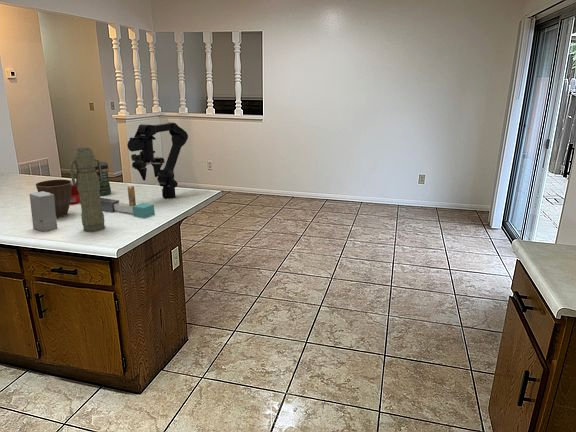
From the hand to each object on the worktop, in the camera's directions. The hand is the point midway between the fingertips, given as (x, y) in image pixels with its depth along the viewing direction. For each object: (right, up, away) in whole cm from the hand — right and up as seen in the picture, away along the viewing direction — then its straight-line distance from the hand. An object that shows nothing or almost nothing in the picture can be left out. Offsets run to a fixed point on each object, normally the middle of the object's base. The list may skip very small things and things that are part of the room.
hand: (150, 178), depth 222 cm
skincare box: (-33, -25, -37) cm, 56 cm away
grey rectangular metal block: (-20, -16, -9) cm, 27 cm away
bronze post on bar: (-7, -17, -15) cm, 24 cm away
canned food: (-41, -13, +2) cm, 44 cm away
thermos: (-12, -25, -37) cm, 47 cm away
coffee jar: (-34, -7, +20) cm, 40 cm away
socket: (+3, -19, -18) cm, 27 cm away
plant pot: (-38, -19, -19) cm, 47 cm away
